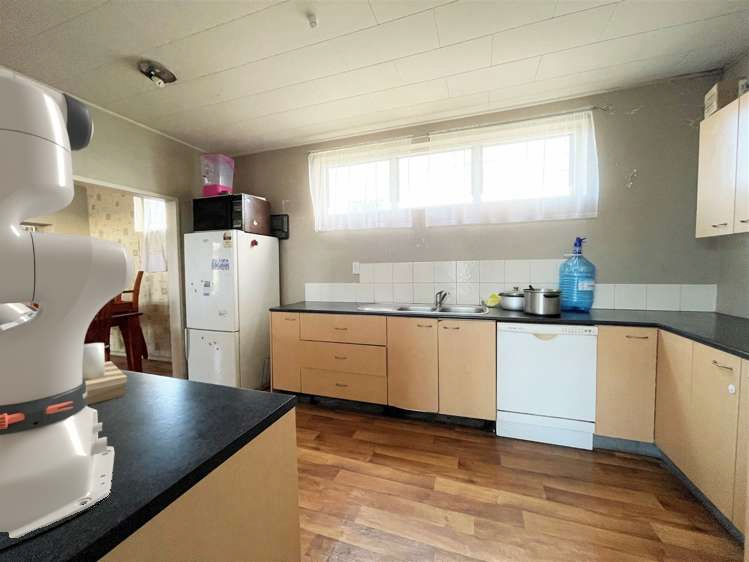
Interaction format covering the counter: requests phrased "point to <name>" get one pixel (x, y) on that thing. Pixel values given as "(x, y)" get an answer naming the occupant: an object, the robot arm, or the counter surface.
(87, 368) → the white rounded block
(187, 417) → the counter surface
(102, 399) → the wooden board
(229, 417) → the counter surface
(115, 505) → the counter surface
